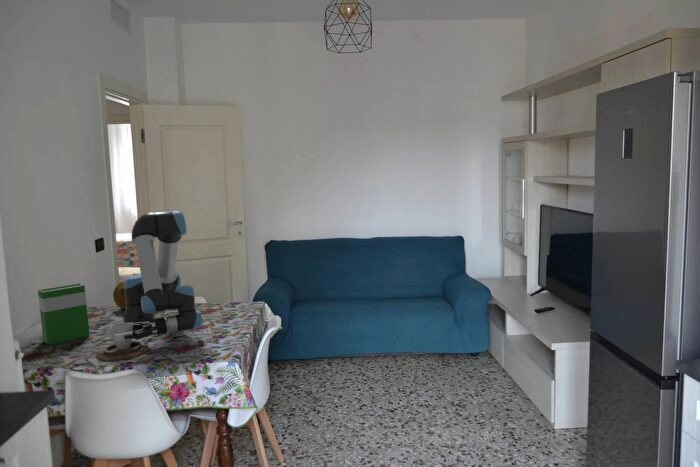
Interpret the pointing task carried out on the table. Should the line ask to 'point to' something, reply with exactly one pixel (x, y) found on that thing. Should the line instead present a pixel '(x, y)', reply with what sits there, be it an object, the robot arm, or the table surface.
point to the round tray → (116, 358)
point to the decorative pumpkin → (120, 295)
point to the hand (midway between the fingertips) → (112, 334)
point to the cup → (121, 329)
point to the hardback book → (63, 313)
